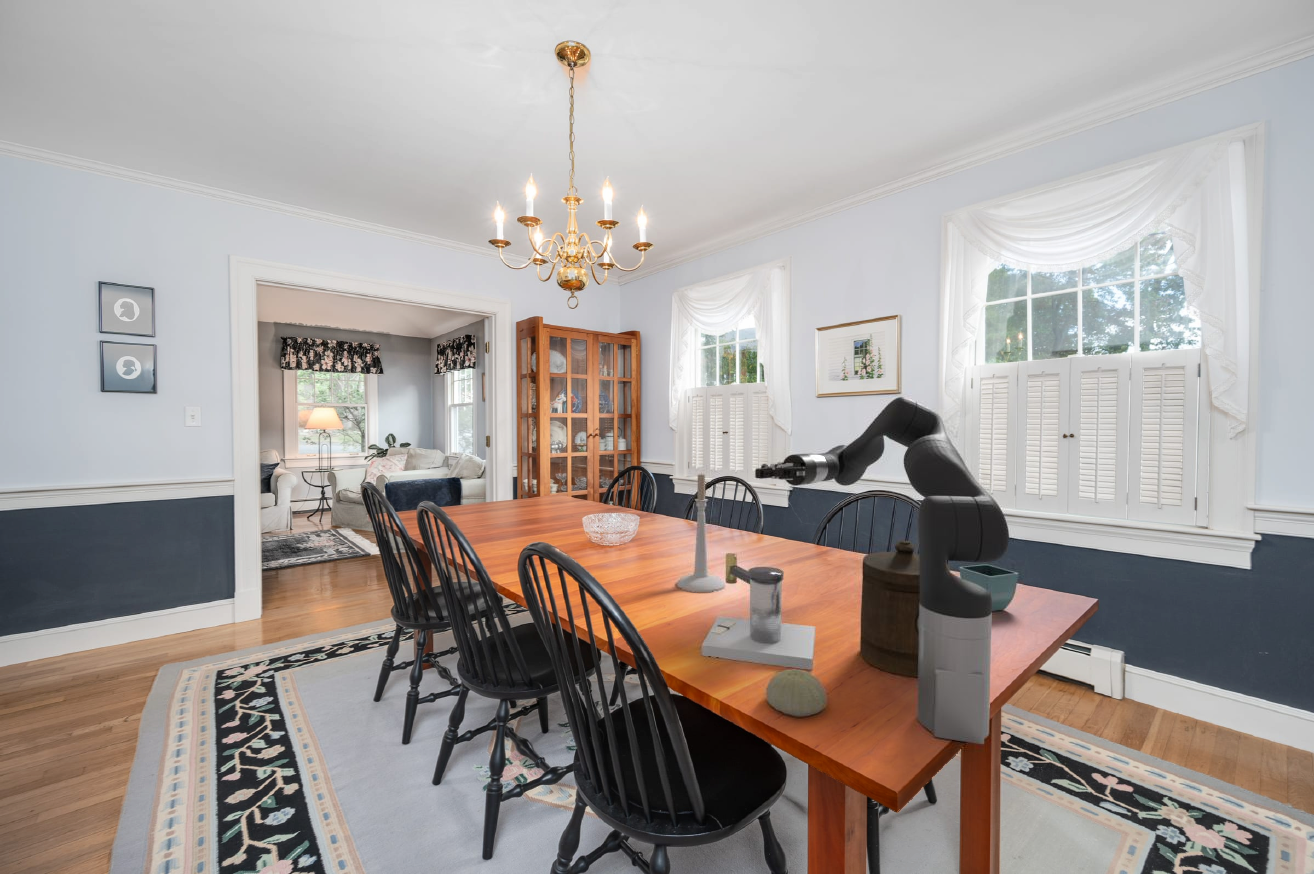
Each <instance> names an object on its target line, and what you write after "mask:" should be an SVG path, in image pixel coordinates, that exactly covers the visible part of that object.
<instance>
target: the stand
mask: <svg viewBox="0 0 1314 874" xmlns="http://www.w3.org/2000/svg"><path fill="white" fill-rule="evenodd" d="M815 641H816V626H814V625H813V626H812V625H803V624H802V625H801V624H795V623H784V622H782V623H781V639H780V640H779V641H776V642H761V641H757V640H754V639H752V638H751V637H750V618H749V619H748V618H741V617H740V618H738V617H730V616H720V615H718V616H717V617H716V619H715V621H714V623H713V625H712V627H711V628H710V630H709V632H708V633H707V635H706V636H705V638H704V640H703V642H702V644H701V656H702V655H703V656H702V657H708V656H711V657H710V658H716V657H719V658H718V659H725V660H732V661H733V660H734V661H740V662H748V663H755V664H760V665H761V664H764V665H770V666H778V667H786V668H791V669H792V668H793V669H799V670H807V671H813V668H814V667H813V666H814V656H815V654H814V653H815Z"/></svg>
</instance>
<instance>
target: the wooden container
mask: <svg viewBox="0 0 1314 874" xmlns="http://www.w3.org/2000/svg"><path fill="white" fill-rule="evenodd" d="M894 549H895V550H896V551H879V552H873V553H868V554H866V555H865V556H863V558H862V567H861V568H862V570H861V571H862V578H861V579H862V582H861V584H862V585H861V603H860V605H861V606H860V643H859V645H860V646H859V648H860V649H859V652H860V655H861V657H862V658H863V660H864V661H865V662H867V663H868V664H869V665H870V666H873V667H875V668H877V669H880V670H882V671H884V672H886V673H891V674H893V675H898V676H903V677H910V678H911V677H913V678H918V648H919V596H920V583H919V570H920V561H919V553H915V549H916V548H915V544H914V543H913V542H911V541H910V540H907V539H906V540H905V539H902V540H900V541H897V542H896V543H895V544H894ZM946 566H947V570H948V571H949V572H951V567H950V565H949V564H948V562H946Z"/></svg>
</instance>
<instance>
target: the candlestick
mask: <svg viewBox="0 0 1314 874" xmlns="http://www.w3.org/2000/svg"><path fill="white" fill-rule="evenodd" d="M708 500H709V499H708V498H707V499H706V474H704V473H700V474H699V473H698V474H697V498H695V499H694V501H695V502H696V504H695V505H696V507H697V514H696V515H697V519H696V520H697V521H696V533H695V534H696V536H695V551H694V552H695V557H694V571H693V573H690V574H686V575H683V576H682V577H680V578H679V579H678V580H677V581H676V586H677V588H679V587H680V588H681V589H680V588H679V589H680V590H682V589H684V590H683V591H685V590H687V591H686V592H689V591H694V592H693V593H697V592H709V593H715V592H714V591H716V592H719V590H720V591H721V590H724V589H725V588H724V587H726V581H725V580H723V579H722V578H720V577H719V576H716V575H713V574H710V573H709V570H708V552H707V551H708V550H707V529H706V513H705V509H706V507H707V502H708ZM712 591H713V592H712Z"/></svg>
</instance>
